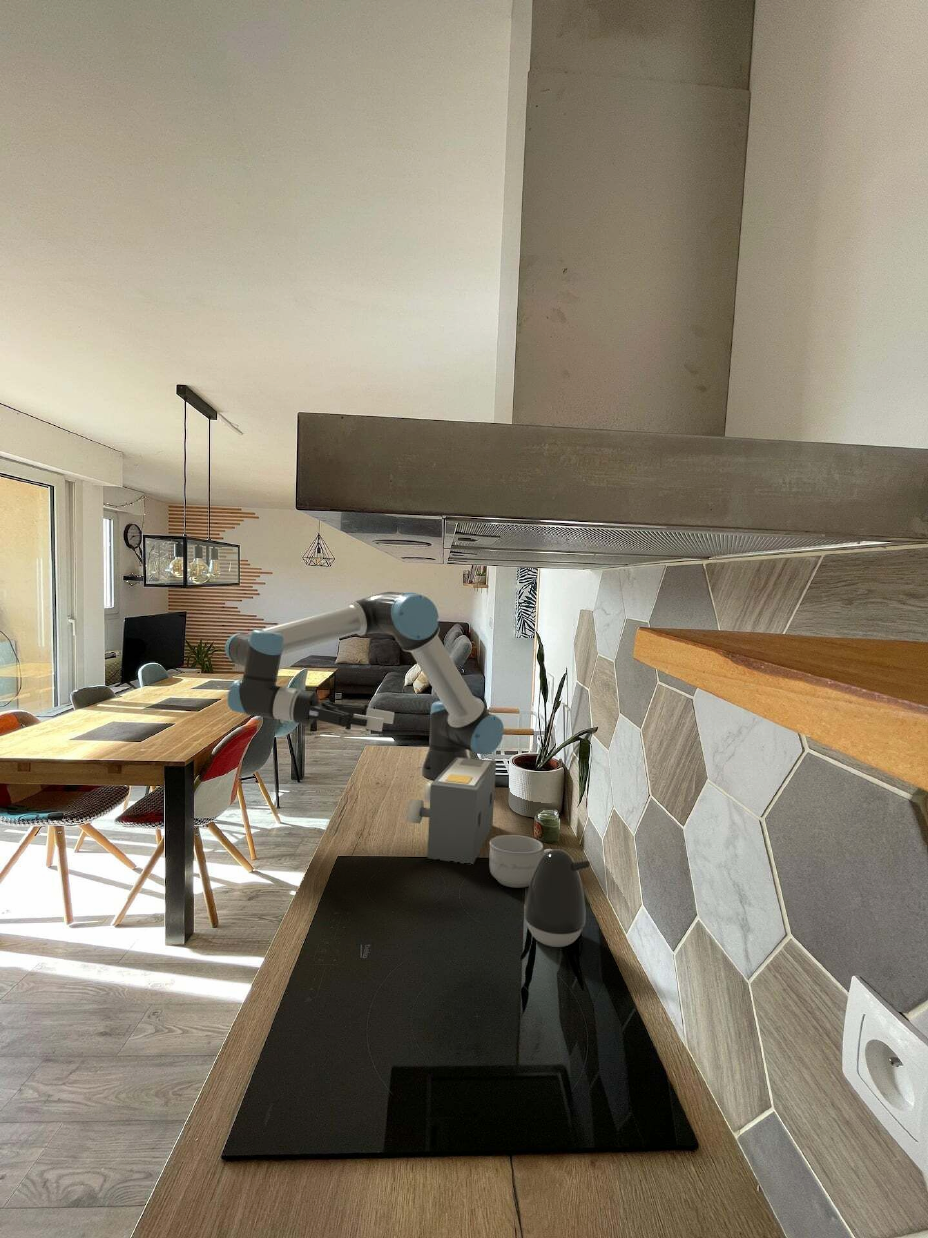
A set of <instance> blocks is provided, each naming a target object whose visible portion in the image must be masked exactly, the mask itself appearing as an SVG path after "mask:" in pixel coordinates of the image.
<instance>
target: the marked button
mask: <svg viewBox="0 0 928 1238" xmlns="http://www.w3.org/2000/svg"><path fill="white" fill-rule="evenodd" d="M424 802H425V801H424V799H416V798H415V799H414V798H410V799H409V801H408V803H407V809H406V821H407V822H408V823H412V824H421V822H422V819H423V818H428V819H429V812H430V807H425V803H424Z"/></svg>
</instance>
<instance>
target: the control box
mask: <svg viewBox="0 0 928 1238" xmlns="http://www.w3.org/2000/svg"><path fill="white" fill-rule="evenodd" d="M496 769H497V761H496V760H490V759H489V760H488V759H480V758H471V757H468V758H462V757H456V758H455V759H454V760H453V761H452V762H451V763H450V764H449V766H448V767H447V768H446V769H445V770H444V771H443V772H442V773H441V774H440V775H439V776H438V777H437V778H436V780H433V781H432V782H433V783H432V784H431V792H430V803H429V808H430V812H429V818H428V833H427V834H428V835H427V837H428V838H427V851H426V852H427V855H426V858H427V859H432V860H437V859H440V860H439V861H445V862H450V861H454V862H453V863H457V862H460V863H459V864H464V863H471V864H473V865H474V863H475V861H476V859H477V857H478V855H479V853H480V851H481V849H482V848H483V845H484V843H485V841H486V839H487V837H488V835H489V833H490V831H491V830H492V827H493V824H494V806H495V792H496V791H495V790H496ZM471 864H470V865H471Z"/></svg>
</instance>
